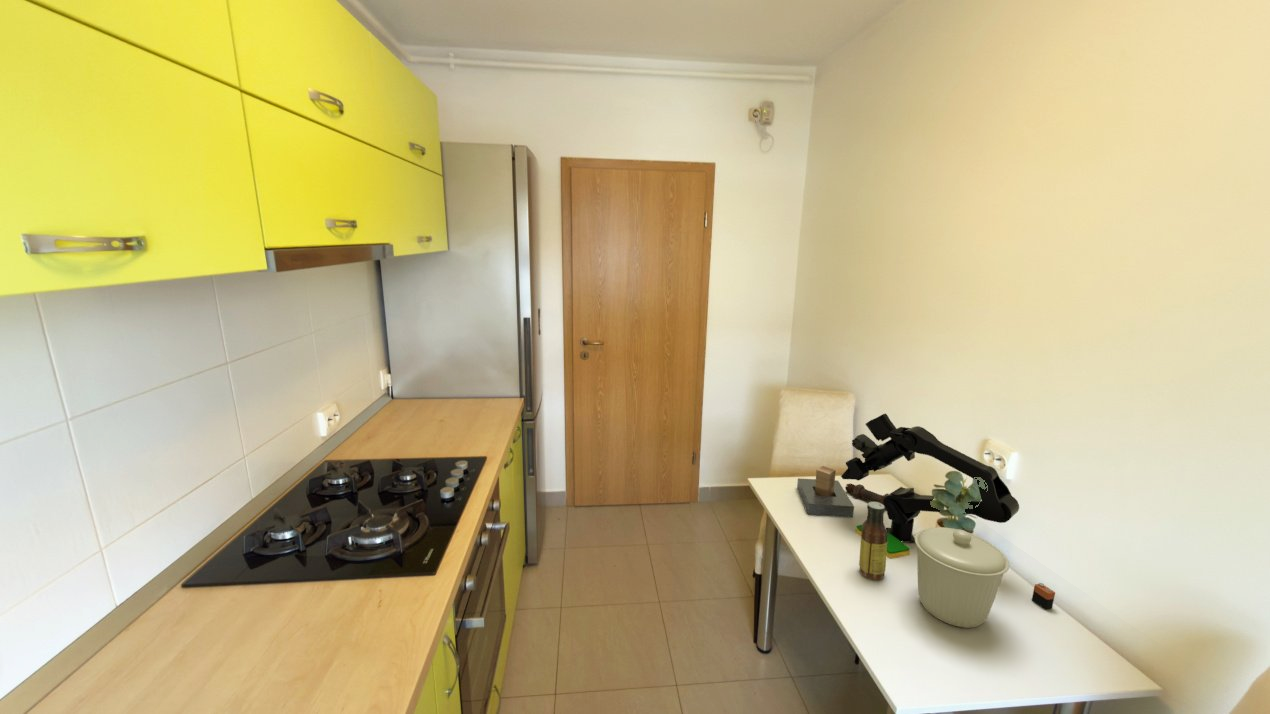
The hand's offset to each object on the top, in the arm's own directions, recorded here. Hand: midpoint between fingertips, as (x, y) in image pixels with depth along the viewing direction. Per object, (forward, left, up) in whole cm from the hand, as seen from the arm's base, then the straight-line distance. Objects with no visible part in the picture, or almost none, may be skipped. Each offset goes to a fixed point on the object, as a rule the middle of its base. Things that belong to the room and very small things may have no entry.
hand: (849, 473), depth 153 cm
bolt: (+9, -9, -14) cm, 19 cm away
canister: (-44, -11, -14) cm, 47 cm away
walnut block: (+6, +6, -14) cm, 16 cm away
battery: (-39, -34, -14) cm, 53 cm away
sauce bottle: (-32, +3, -14) cm, 34 cm away
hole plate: (+5, +6, -14) cm, 16 cm away
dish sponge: (-17, -5, -14) cm, 23 cm away
